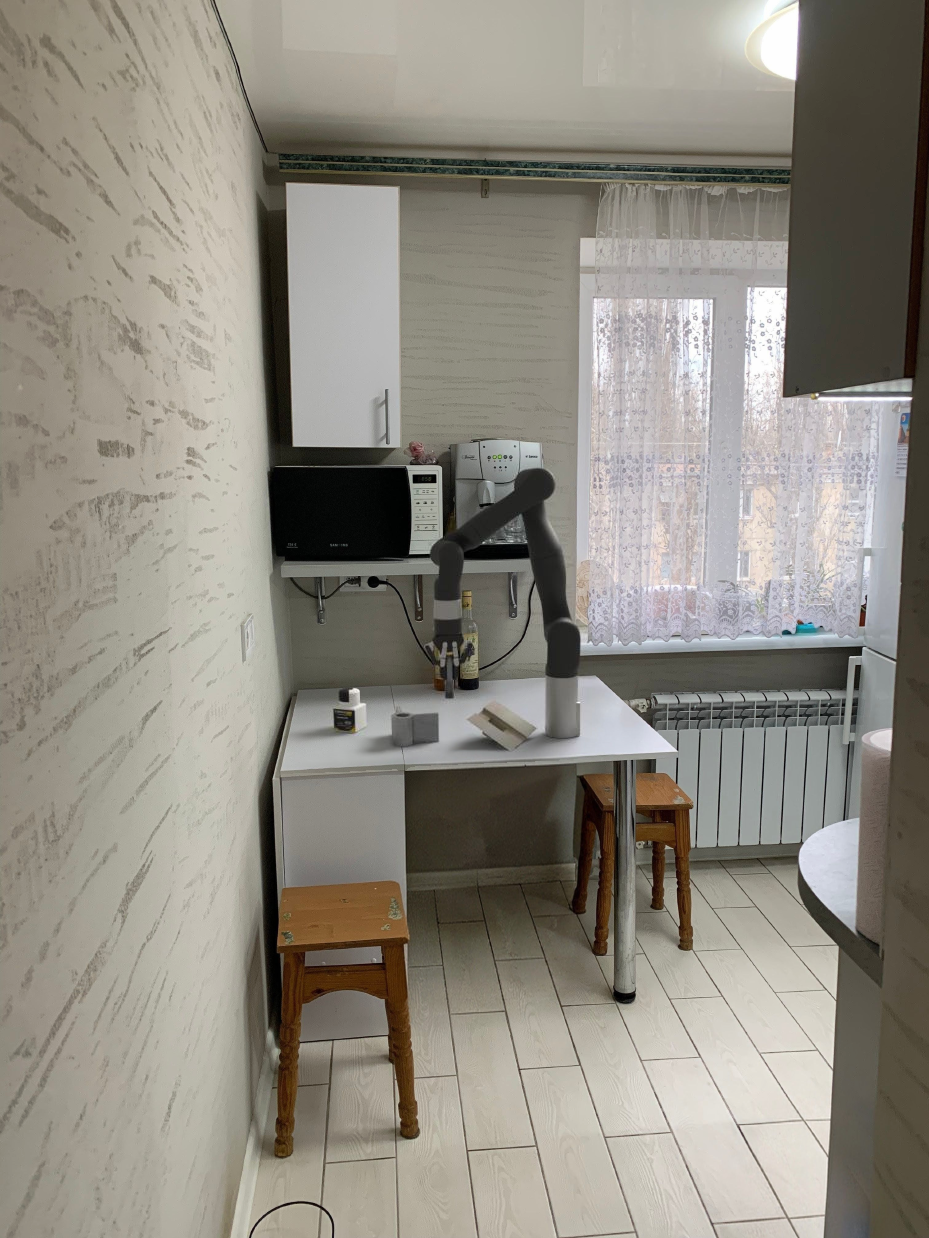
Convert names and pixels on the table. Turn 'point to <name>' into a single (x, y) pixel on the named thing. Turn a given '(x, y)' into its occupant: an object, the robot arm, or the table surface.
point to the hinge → (414, 728)
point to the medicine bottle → (349, 711)
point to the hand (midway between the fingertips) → (449, 679)
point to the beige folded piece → (502, 725)
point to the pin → (449, 676)
